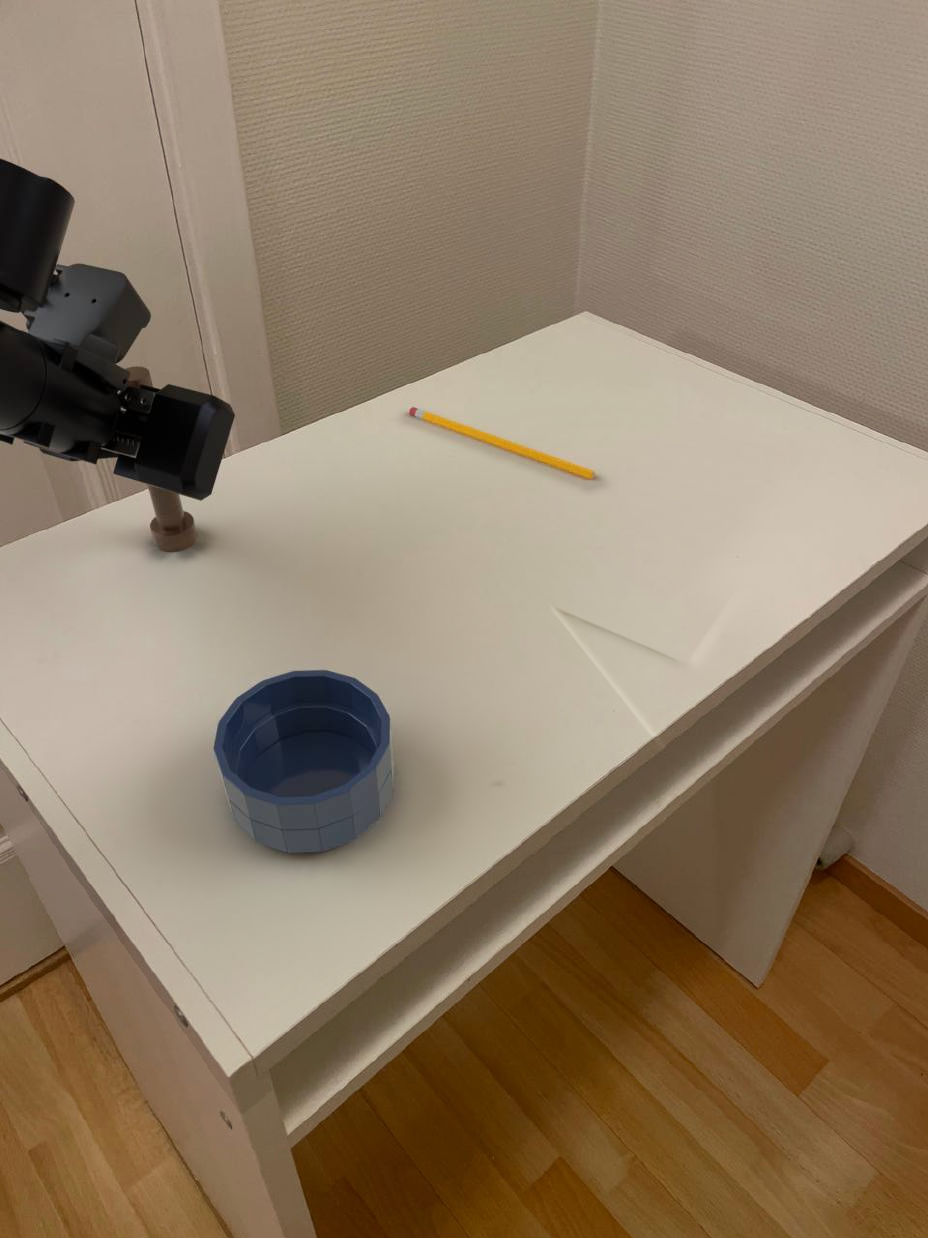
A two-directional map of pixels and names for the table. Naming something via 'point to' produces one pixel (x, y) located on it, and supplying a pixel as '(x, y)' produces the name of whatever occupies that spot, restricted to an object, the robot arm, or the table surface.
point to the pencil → (503, 443)
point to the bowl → (306, 760)
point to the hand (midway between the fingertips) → (167, 449)
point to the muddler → (165, 498)
